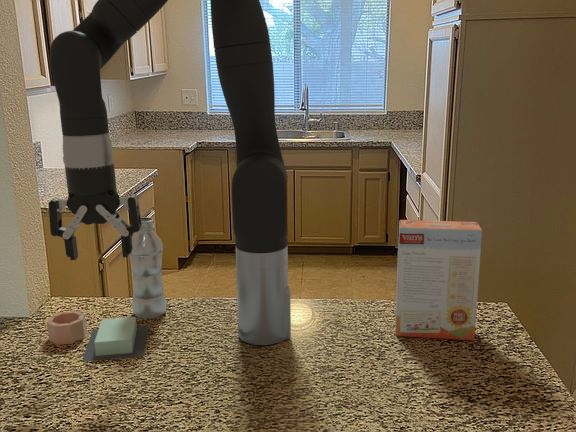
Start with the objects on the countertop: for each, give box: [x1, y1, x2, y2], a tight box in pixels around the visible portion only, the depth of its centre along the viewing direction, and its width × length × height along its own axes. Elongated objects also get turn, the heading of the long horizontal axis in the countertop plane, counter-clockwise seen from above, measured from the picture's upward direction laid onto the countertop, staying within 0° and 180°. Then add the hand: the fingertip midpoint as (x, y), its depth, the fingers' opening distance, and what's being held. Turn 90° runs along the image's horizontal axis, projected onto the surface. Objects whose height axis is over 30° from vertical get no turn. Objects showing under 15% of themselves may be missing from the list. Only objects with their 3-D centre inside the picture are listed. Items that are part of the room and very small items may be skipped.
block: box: [94, 316, 138, 356], centre depth 99 cm, size 6×9×2 cm, turn 10°
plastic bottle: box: [128, 216, 168, 320], centre depth 109 cm, size 6×7×20 cm
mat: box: [81, 324, 149, 363], centre depth 100 cm, size 10×12×1 cm
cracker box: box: [395, 219, 483, 342], centre depth 102 cm, size 14×6×21 cm, turn 80°
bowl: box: [46, 310, 88, 346], centre depth 102 cm, size 6×6×4 cm
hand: (100, 257), depth 95 cm, fingers open, 8 cm apart
